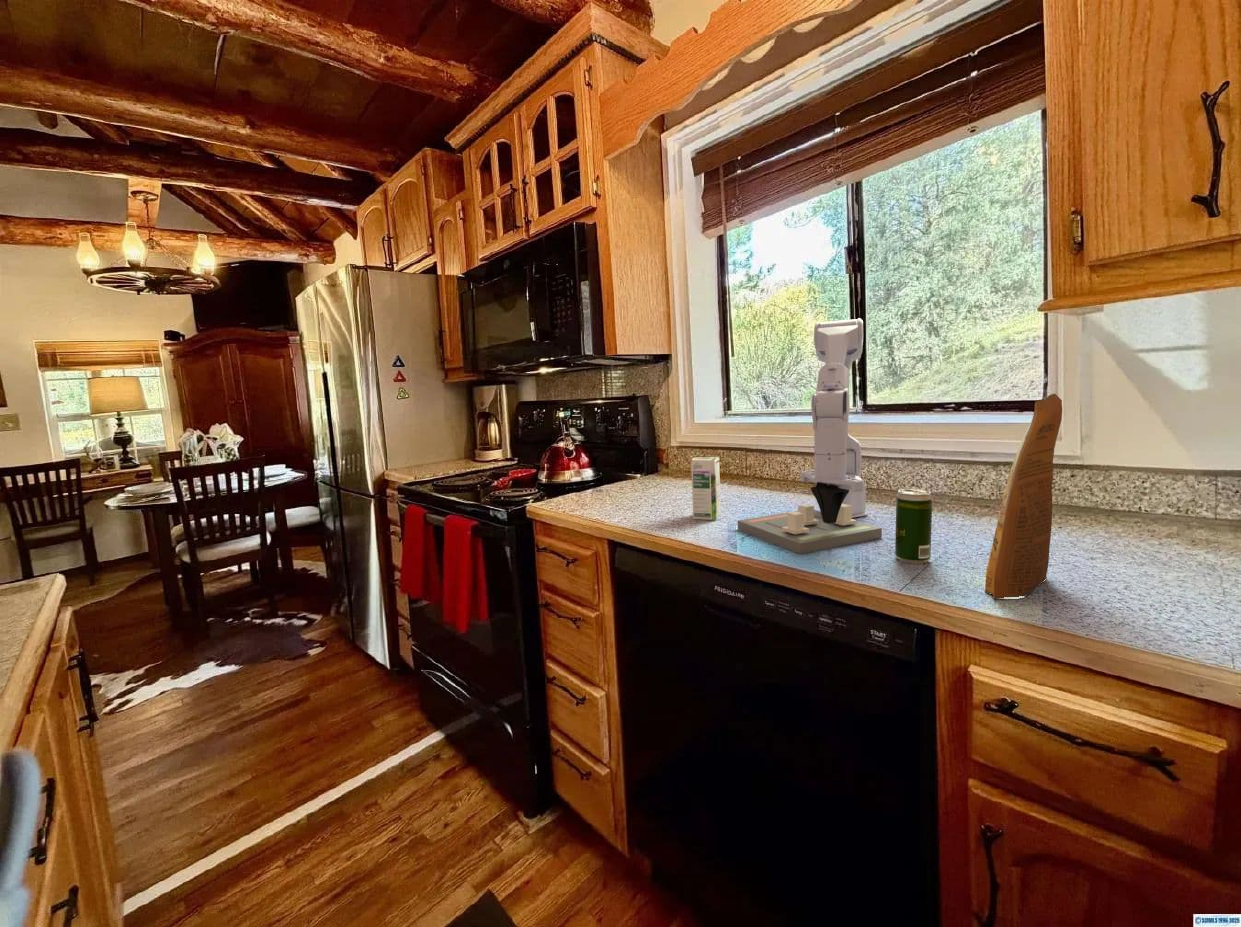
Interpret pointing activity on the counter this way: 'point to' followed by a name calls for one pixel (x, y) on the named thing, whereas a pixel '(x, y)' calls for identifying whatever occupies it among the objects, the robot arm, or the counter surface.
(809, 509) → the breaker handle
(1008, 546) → the pancake mix bag
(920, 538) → the beer can
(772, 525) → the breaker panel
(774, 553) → the counter surface
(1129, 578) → the counter surface
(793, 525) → the breaker handle
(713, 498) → the syrup box
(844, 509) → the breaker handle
